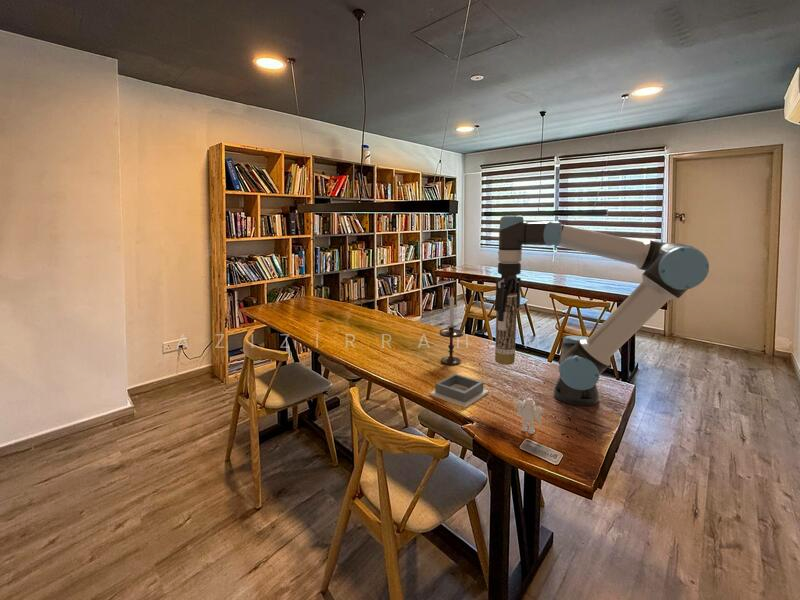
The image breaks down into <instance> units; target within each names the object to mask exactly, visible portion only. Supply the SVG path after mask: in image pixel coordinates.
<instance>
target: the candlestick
mask: <svg viewBox="0 0 800 600" xmlns="http://www.w3.org/2000/svg"><path fill="white" fill-rule="evenodd" d="M453 288H454V287H451V293H450V294H451V296H450V297H449V325H447V328H443V329H441V330H439V336H441V337H443V338H449V345H448V346H447V347H448V349H449V350H448V353H449V356H444V357H442V358H440V362H441V364H443V365H446V366H458V365H460V364H461V363H462V361H461V359H460V358H459V357H455V356H453V354H454V353H455V352H454V348H455V345H454V344H453V343H454V342H453V341H454V339H456V338H460V337H463V336H464V331H463V330H461V329H457V328H456V327H457V326H456V325H454V324H455V322H454V321H455V319H454V318H455V297H454V289H453ZM453 338H454V339H453Z"/></svg>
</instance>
